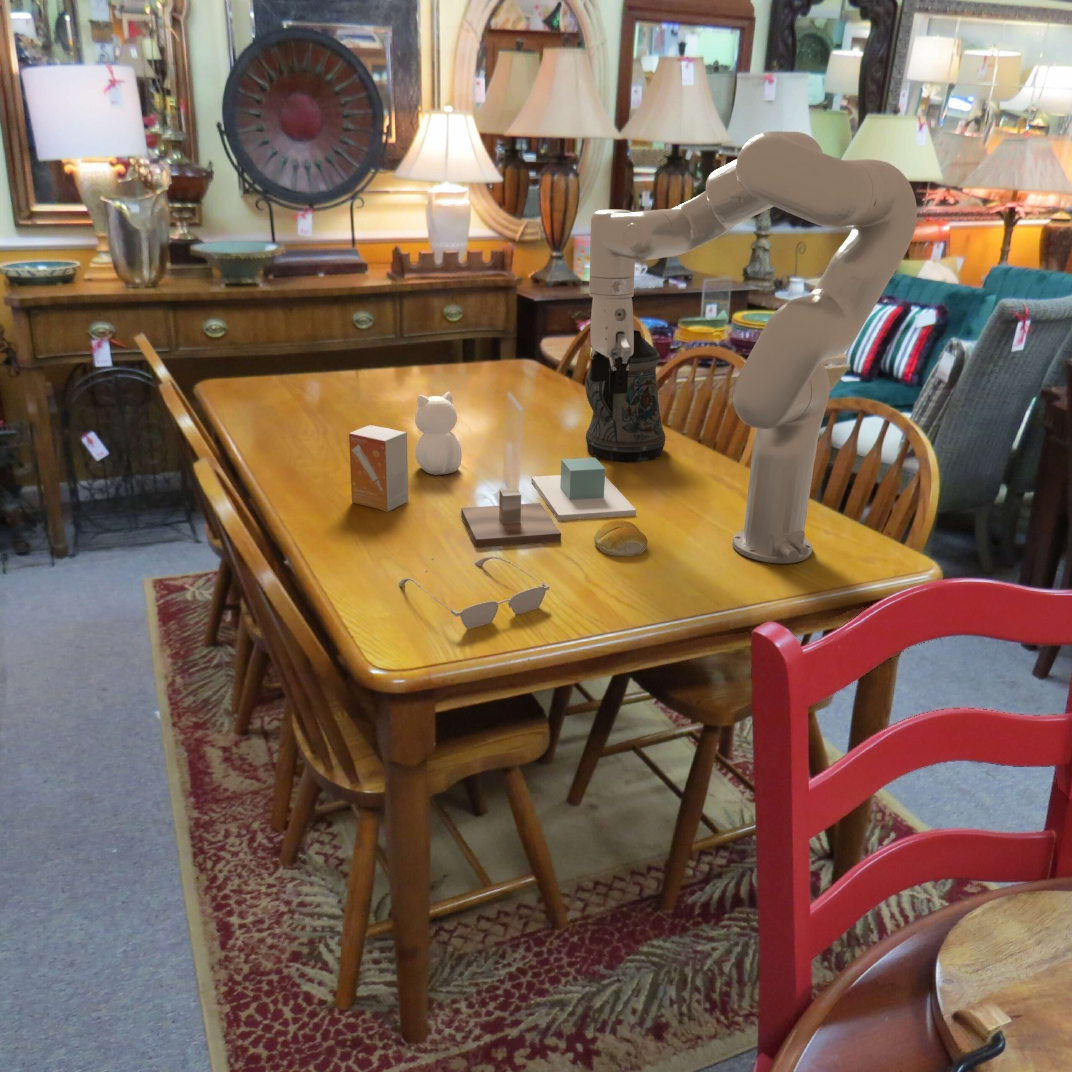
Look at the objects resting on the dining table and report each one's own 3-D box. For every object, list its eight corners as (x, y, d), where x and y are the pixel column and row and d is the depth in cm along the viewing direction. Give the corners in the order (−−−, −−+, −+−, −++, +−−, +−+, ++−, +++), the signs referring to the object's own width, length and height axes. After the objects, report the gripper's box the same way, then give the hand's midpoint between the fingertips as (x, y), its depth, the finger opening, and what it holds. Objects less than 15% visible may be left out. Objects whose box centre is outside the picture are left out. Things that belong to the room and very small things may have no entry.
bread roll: (633, 534, 164) (635, 512, 163) (652, 555, 156) (654, 532, 155) (586, 538, 162) (587, 515, 161) (603, 559, 154) (604, 536, 153)
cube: (603, 497, 176) (605, 468, 174) (569, 499, 175) (570, 470, 173) (593, 485, 182) (595, 457, 180) (560, 487, 181) (561, 459, 178)
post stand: (560, 541, 160) (562, 504, 157) (476, 548, 157) (476, 510, 154) (540, 510, 172) (541, 475, 170) (461, 516, 169) (461, 480, 167)
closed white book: (635, 515, 171) (636, 509, 171) (558, 520, 168) (558, 515, 168) (601, 477, 189) (602, 472, 189) (531, 481, 186) (531, 476, 186)
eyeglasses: (456, 637, 130) (456, 610, 129) (392, 587, 144) (391, 562, 142) (550, 608, 139) (551, 583, 137) (481, 564, 152) (481, 540, 151)
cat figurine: (449, 459, 198) (447, 386, 192) (475, 477, 187) (474, 400, 182) (407, 465, 194) (404, 390, 188) (431, 484, 183) (429, 405, 178)
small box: (351, 503, 173) (347, 432, 168) (373, 493, 179) (370, 423, 174) (387, 512, 170) (385, 440, 165) (409, 501, 175) (407, 431, 170)
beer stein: (669, 443, 211) (679, 327, 201) (654, 472, 193) (664, 345, 184) (594, 436, 215) (600, 321, 205) (573, 462, 197) (578, 338, 188)
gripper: (651, 293, 158) (646, 397, 165) (615, 279, 174) (612, 375, 180) (607, 294, 157) (604, 399, 163) (575, 281, 172) (573, 377, 178)
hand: (608, 386), depth 172 cm, fingers open, 9 cm apart
